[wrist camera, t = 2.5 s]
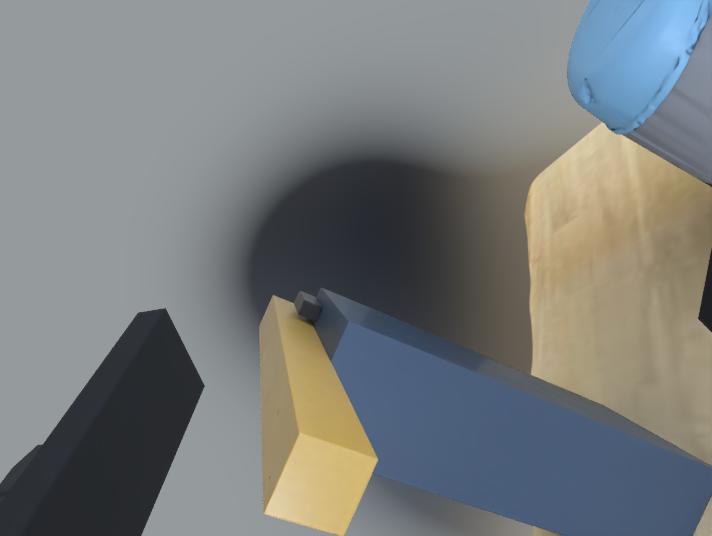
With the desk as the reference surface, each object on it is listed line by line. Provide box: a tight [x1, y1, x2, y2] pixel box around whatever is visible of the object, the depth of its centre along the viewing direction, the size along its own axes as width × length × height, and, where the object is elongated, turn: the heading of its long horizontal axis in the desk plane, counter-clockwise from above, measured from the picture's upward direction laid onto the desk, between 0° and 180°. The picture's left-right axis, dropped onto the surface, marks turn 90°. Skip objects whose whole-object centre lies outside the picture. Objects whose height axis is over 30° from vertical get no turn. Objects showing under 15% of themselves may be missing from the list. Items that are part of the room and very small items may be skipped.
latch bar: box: [260, 296, 378, 536], centre depth 29 cm, size 26×3×3 cm, turn 28°
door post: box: [294, 288, 712, 536], centre depth 36 cm, size 12×8×32 cm, turn 28°
